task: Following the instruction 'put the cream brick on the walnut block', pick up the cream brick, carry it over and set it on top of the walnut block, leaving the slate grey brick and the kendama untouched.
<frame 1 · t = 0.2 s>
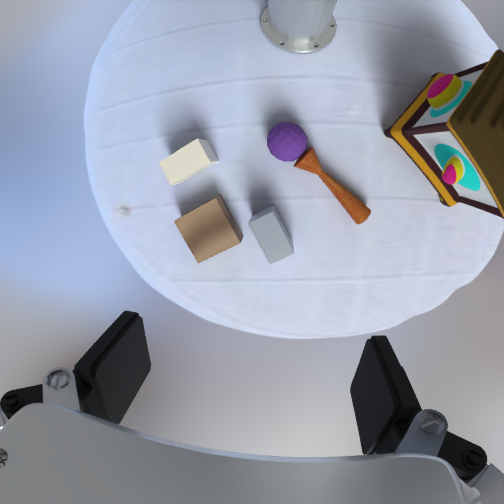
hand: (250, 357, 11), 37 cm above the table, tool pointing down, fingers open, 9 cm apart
cream brick: (195, 161, 44), on the table
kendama: (318, 172, 43), on the table
walnut block: (212, 225, 48), on the table
decorative lantern: (439, 138, 38), on the table
slate grey brick: (272, 228, 46), on the table
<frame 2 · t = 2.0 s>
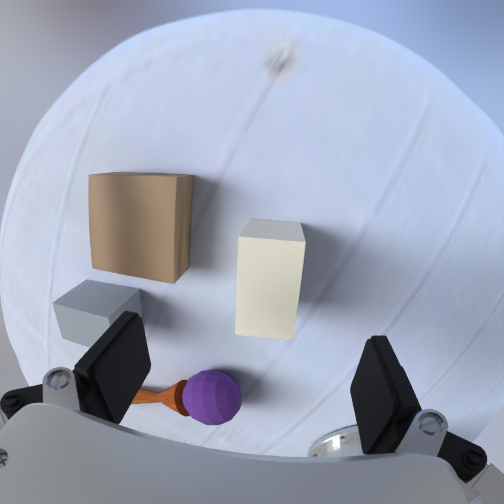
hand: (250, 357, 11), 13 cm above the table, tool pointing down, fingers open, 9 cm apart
cream brick: (272, 261, 23), on the table
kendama: (166, 383, 30), on the table
walnut block: (150, 217, 24), on the table
slate grey brick: (114, 300, 27), on the table
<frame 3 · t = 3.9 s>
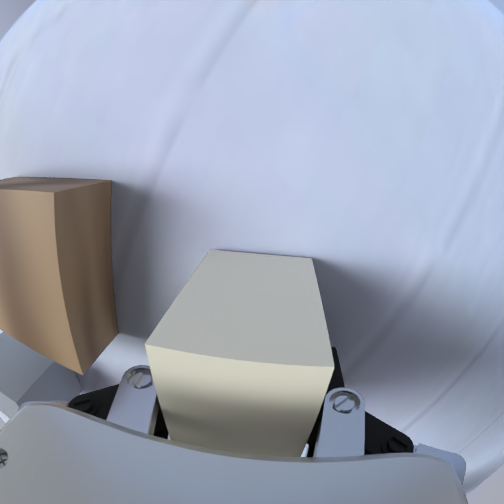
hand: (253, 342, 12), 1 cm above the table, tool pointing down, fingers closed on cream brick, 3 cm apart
cream brick: (255, 327, 12), on the table, touching gripper
walnut block: (59, 250, 13), on the table
slate grey brick: (44, 356, 16), on the table
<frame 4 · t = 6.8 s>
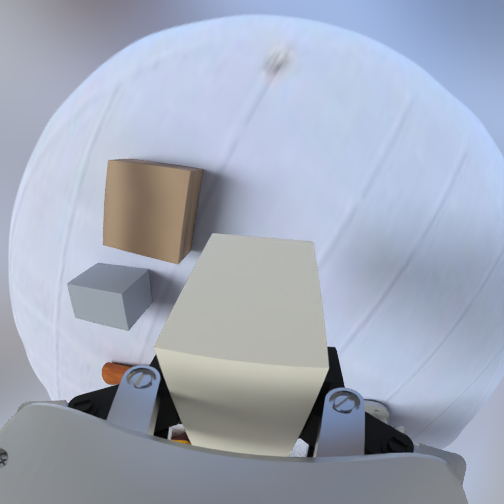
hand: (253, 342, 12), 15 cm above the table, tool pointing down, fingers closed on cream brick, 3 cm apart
cream brick: (258, 305, 13), point 14 cm above the table, tilted 11°, touching gripper
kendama: (171, 364, 33), on the table
walnut block: (159, 203, 26), on the table
slate grey brick: (124, 282, 29), on the table
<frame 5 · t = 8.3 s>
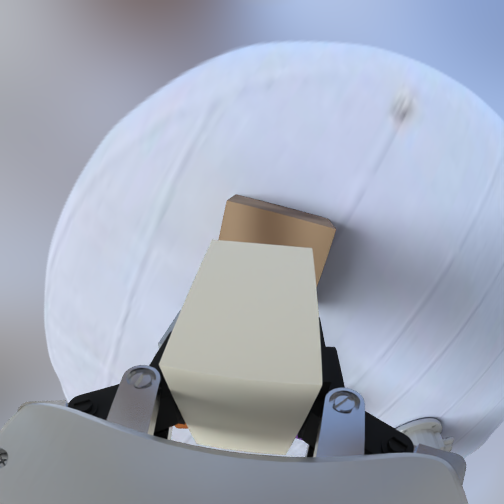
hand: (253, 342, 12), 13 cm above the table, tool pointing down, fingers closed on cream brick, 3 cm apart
cream brick: (258, 307, 13), point 12 cm above the table, tilted 15°, touching gripper
walnut block: (270, 249, 24), on the table
when the fingers open (6 cm above the table, at t = 9.7 s): cream brick drops 1 cm, resting on walnut block.
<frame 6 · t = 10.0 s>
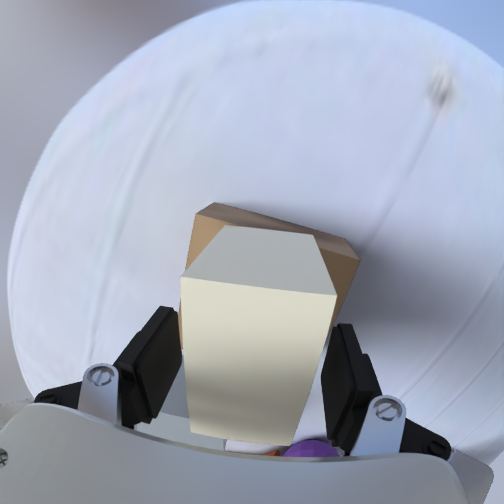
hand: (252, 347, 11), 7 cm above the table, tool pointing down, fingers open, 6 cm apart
cream brick: (261, 298, 14), point 4 cm above the table, touching walnut block
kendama: (243, 447, 24), on the table
walnut block: (263, 278, 18), on the table, touching cream brick
slate grey brick: (193, 374, 21), on the table
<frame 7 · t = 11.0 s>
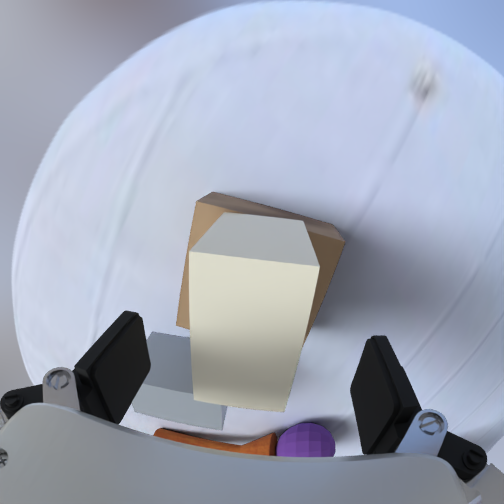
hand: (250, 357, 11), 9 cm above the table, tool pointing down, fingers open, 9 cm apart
cream brick: (256, 279, 15), point 4 cm above the table
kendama: (241, 431, 26), on the table
walnut block: (257, 262, 19), on the table
slate grey brick: (193, 355, 22), on the table
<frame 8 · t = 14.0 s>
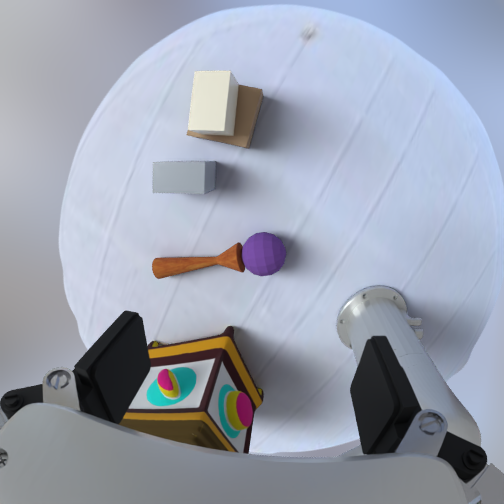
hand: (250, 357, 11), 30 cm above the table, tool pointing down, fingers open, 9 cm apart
cream brick: (220, 109, 32), point 4 cm above the table
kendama: (219, 254, 42), on the table
walnut block: (228, 116, 36), on the table
decorative lantern: (208, 367, 50), on the table
slate grey brick: (192, 174, 39), on the table
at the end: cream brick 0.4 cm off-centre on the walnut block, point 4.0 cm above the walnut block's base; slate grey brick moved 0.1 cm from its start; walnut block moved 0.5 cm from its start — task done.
